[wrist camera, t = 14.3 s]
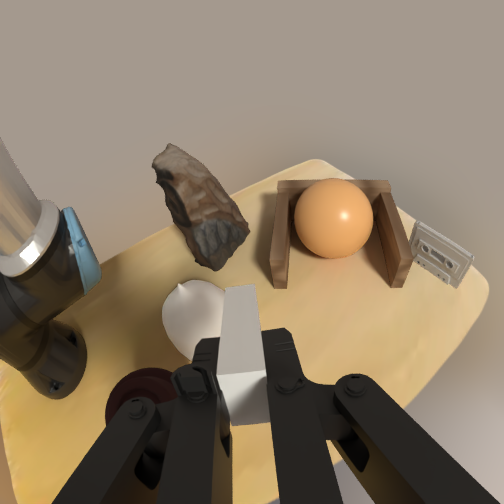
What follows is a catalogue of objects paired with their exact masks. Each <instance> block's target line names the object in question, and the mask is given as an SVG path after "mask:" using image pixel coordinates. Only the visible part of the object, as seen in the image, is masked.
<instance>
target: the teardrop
mask: <svg viewBox="0 0 504 504" xmlns="http://www.w3.org/2000/svg"><path fill="white" fill-rule="evenodd" d="M224 296H225V291H223V290H222V289H220V288H218V287H217V286H215V285H214V284H212V283H210V282H206V281H201V280H190V281H187V282H185V283H183V284H179V283H178V286H177V287H176V288H175V289H174V290H173V291H172V292H171V293H170V294H169V295H168V297H167V298H166V300H165V302H164V304H163V307H162V321H163V325H164V328H165V330H166V333H167V336H168V337H169V339H170V340H171V341H172V343H173V344H174V346H175V347H176V348H177V350H178V351H179V352H180V353H182V354H183V355H184V356H185V357H187V358H188V359H189V360H191V361H192V359H193V355H194V350H195V346H196V345H197V344H198V342H199V341H200V340H201V339H202V338H213V337H220V333H221V324H222V315H223V305H224Z"/></svg>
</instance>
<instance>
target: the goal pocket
mask: <svg viewBox="0 0 504 504" xmlns="http://www.w3.org/2000/svg"><path fill="white" fill-rule="evenodd" d="M318 181H320V180H285V181H278V186H277V190H278V195H277V204H276V212H275V220H274V228H273V236H272V244H271V252H270V259H269V260H270V266H271V272H272V278H273V284H274V289H287V281H288V267H289V253H290V237H291V221H294V214H295V208H296V205H297V202H298V200H299V198H300V196H301V195H302V193H303V192H304V191H305V190H306V189H307V188H308V187H309V186H311V185H312V184H314V183H315V182H318ZM346 181H349V182H351V183H353V184H354V185H356V186H357V187H358V188H359V189H361V190H362V192H363V193H364V194H365V195H366V197H367V198H368V200H369V202H370V205H371V208H372V212H373V221H376V224H377V228H378V232H379V235H380V240H381V244H382V248H383V252H384V256H385V261H386V266H387V270H388V275H389V280H390V286H391V288H402V286H403V284H404V282H405V279H406V277H407V275H408V272H409V270H410V267H411V265H412V262H413V259H414V258H413V255H412V251H411V248H410V245H409V242H408V239H407V236H406V233H405V230H404V227H403V224H402V221H401V219H400V216H399V213H398V211H397V208H396V205H395V203H394V200H393V198H392V195H391V193H390V192H391V186H390V184H389V182H388V181H386V180H346Z"/></svg>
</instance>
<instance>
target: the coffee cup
mask: <svg viewBox="0 0 504 504" xmlns="http://www.w3.org/2000/svg"><path fill="white" fill-rule="evenodd" d="M172 374H173V373H172V372H170V371H167V370H164V369H160V368H144V369H139V370H137V371H134V372H131V373H130V374H128V375H127V376H125V377H124V378H122V379H121V380H120V381H119V382H118V383H117V384H116V386H115V387H114V388H113V390H112V392H111V393H110V396H109V398H108V401H107V404H106V410H105V421H106V426H107V425H108V423H109V422H110V421H111V419H112V418H113V417H114V415H115V414H116V412H117V411H118V410H119V408H120V407H121V406H122V405H123V404H124V403H125V402H126V401H128V400H130V399H131V398H135V397H146V398H149V399H151V400H152V401H153V402H154V404H160V403H164V402H168V401H171V400H174V399H175V398H177V397H178V395H177V393H176V390H175V388H174V386H173V383H172V381H171V379H170V377H171V375H172Z"/></svg>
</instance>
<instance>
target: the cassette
mask: <svg viewBox="0 0 504 504" xmlns="http://www.w3.org/2000/svg"><path fill="white" fill-rule="evenodd" d="M409 245H410V248H411V251H412V255H413V258H414V259H413V261H414V262H415V263H417V264H418V265H420V266H421V267H423V268H424V269H426V270H427V271H429V272H430V273H432V274H433V275H435V276H436V277H438V278H439V279H440V280H442V281H443V282H445V283H446V284H450V285H451V286H453V287H454V288H458V286H459V285H460V283H461V282H462V279H463V278H464V276H465V274H466V273H467V271H468V269H469V267H470V266H471V264H472V262H473V260H474V255H472V254H471V253H469V252H468V251H466V250H465V249H463V248H462V247H460V246H459V245H457V244H456V243H454V242H453V241H451V240H450V239H448V238H447V237H445V236H443V235H442V234H440V233H438V232H437V231H435V230H433V229H432V228H430V227H429V226H427V225H425V224H424V223H422V222H420V221H419V220H417V221H416V222H415V224H414V227H413V230H412V234H411V237H410V240H409ZM434 250H435V251H436V252H435V251H434ZM437 252H438V253H437ZM440 254H441V255H440ZM443 256H444V257H443Z"/></svg>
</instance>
